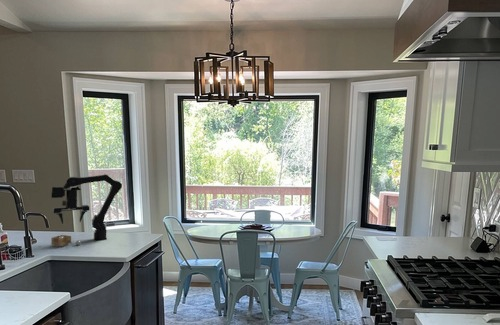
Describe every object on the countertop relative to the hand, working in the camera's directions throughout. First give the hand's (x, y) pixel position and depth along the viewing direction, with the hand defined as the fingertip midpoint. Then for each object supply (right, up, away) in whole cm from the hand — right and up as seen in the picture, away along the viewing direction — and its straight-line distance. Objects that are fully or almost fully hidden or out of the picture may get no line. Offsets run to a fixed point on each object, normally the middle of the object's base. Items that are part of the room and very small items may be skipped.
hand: (71, 222), depth 179 cm
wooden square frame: (-2, -11, -6) cm, 13 cm away
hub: (-2, -12, -6) cm, 14 cm away
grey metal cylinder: (+7, -12, -5) cm, 15 cm away
